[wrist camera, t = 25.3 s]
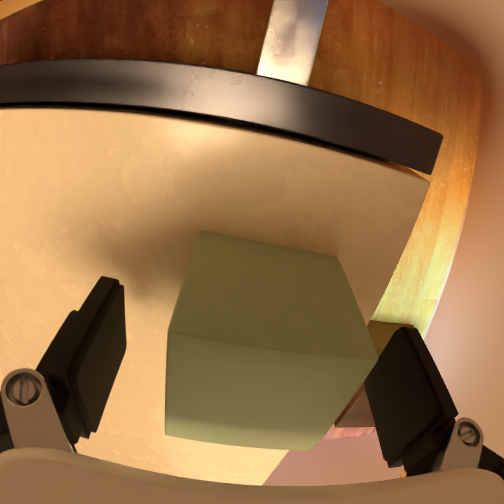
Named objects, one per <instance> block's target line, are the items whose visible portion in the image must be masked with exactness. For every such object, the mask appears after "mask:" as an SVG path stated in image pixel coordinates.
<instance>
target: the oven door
mask: <svg viewBox="0 0 504 504" xmlns="http://www.w3.org/2000/svg"><path fill="white" fill-rule="evenodd" d="M0 1H1V0H0ZM328 4H329V0H273V1H272V5H271V9H270V13H269V17H268V21H267V25H266V30H265V34H264V38H263V42H262V46H261V50H260V54H259V59H258V63H257V67H256V72H255V74H253V73H248V72H243V71H237V70H231V69H225V68H219V67H212V66H205V65H198V64H190V63H181V62H171V61H160V60H146V59H125V58H72V59H53V60H39V61H29V62H20V63H12V64H4V65H0V103H22V102H68V103H93V104H110V105H123V106H134V107H144V108H154V109H162V110H170V111H178V112H185V113H192V114H199V115H205V116H211V117H217V118H223V119H228V120H234V121H239V122H244V123H249V124H254V125H259V126H264V127H269V128H273V129H278V130H282V131H286V132H290V133H295V134H299V135H303V136H307V137H311V138H314V139H318V140H322V141H326V142H329V143H333V144H337V145H340V146H344V147H347V148H350V149H354V150H357V151H360V152H364V153H367V154H370V155H373V156H376V157H379V158H382V159H386V160H389V161H391V162H394V163H397V164H400V165H403V166H406V167H409V168H412V169H414V170H417V171H420V172H422V173H425V174H428V175H431V173H432V170H433V168H434V165H435V161H436V158H437V155H438V152H439V149H440V146H441V143H442V139H443V135H442V134H440V133H438V132H436V131H433V130H431V129H429V128H427V127H424V126H422V125H420V124H417V123H415V122H413V121H410V120H408V119H405V118H403V117H400V116H398V115H395V114H392V113H390V112H387V111H385V110H382V109H379V108H376V107H374V106H371V105H368V104H365V103H362V102H359V101H356V100H353V99H350V98H347V97H344V96H340V95H337V94H334V93H330V92H327V91H324V90H320V89H317V88H313V87H309V83H310V78H311V74H312V70H313V66H314V62H315V58H316V54H317V50H318V46H319V42H320V37H321V33H322V29H323V25H324V21H325V16H326V12H327V8H328Z"/></svg>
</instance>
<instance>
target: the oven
mask: <svg viewBox="0 0 504 504" xmlns="http://www.w3.org/2000/svg"><path fill="white" fill-rule="evenodd" d="M429 185H430V182H429V181H427V180H426V179H424V178H423V177H421V176H420V175H418V174H417V173H415V172H414V171H412V170H411V169H409V168H407V167H406V166H403V165H400V164H397V163H394V162H391V161H389V160H386V159H382V158H379V157H376V156H373V155H370V154H367V153H364V152H360V151H357V150H354V149H350V148H347V147H344V146H340V145H337V144H333V143H329V142H326V141H322V140H318V139H314V138H311V137H307V136H303V135H299V134H295V133H290V132H286V131H282V130H278V129H273V128H269V127H264V126H259V125H254V124H249V123H244V122H239V121H234V120H228V119H223V118H217V117H211V116H205V115H199V114H192V113H185V112H178V111H170V110H162V109H154V108H144V107H134V106H123V105H110V104H93V103H68V102H22V103H0V391H1V384H2V381H3V379H4V378H5V377H6V375H7V374H9V373H10V372H11V371H13V370H16V369H18V368H30V369H33V370H35V369H36V367H37V366H38V364H39V362H40V360H41V359H42V357H43V355H44V354H45V352H46V350H47V348H48V347H49V345H50V343H51V342H52V340H53V338H54V337H55V335H56V334H57V332H58V330H59V329H60V327H61V325H62V324H63V322H64V321H65V319H66V318H67V316H68V314H69V313H70V312H71V311H72V310H76V311H79V309H80V308H81V306H82V304H83V303H84V301H85V300H86V298H87V297H88V295H89V293H90V292H91V290H92V289H93V287H94V286H95V284H96V283H97V281H98V280H99V278H100V277H101V276H106V277H110V278H114V279H118V280H119V283H120V284H121V285H124V296H125V322H126V339H127V347H126V352H125V355H124V358H123V360H122V363H121V365H120V368H119V371H118V373H117V376H116V379H115V381H114V384H113V387H112V390H111V392H110V395H109V398H108V401H107V404H106V406H105V409H104V412H103V415H102V418H101V421H100V424H99V427H98V430H97V432H96V433H93V432H91V434H90V437H89V440H88V439H85V438H82V437H80V438H79V441H78V443H77V444H75V447H76V449H77V451H78V453H79V454H83V455H87V456H90V457H94V458H98V459H102V460H106V461H110V462H114V463H118V464H122V465H126V466H130V467H134V468H138V469H143V470H148V471H153V472H158V473H163V474H168V475H173V476H179V477H185V478H191V479H198V480H205V481H213V482H222V483H232V484H244V485H259V486H262V485H263V483H264V482H265V481H266V480H267V478H268V477H269V476H270V474H271V473H272V472H273V470H274V469H275V468H276V467H277V466H278V464H279V463H280V461H281V460H282V459H283V458H284V456H285V455H286V454H287V452H288V451H289V450H278V449H262V448H250V447H240V446H231V445H222V444H215V443H208V442H201V441H195V440H189V439H183V438H178V437H172V436H167V435H165V377H166V352H167V333H168V328H169V324H170V321H171V318H172V314H173V311H174V308H175V304H176V301H177V298H178V295H179V292H180V289H181V285H182V282H183V279H184V276H185V273H186V270H187V267H188V264H189V261H190V258H191V255H192V252H193V249H194V246H195V243H196V240H197V237H198V234H199V232H200V231H204V232H209V233H215V234H220V235H225V236H230V237H236V238H241V239H246V240H252V241H257V242H262V243H267V244H273V245H278V246H283V247H288V248H293V249H298V250H304V251H309V252H314V253H319V254H324V255H329V256H334V257H337V258H338V259H339V261H340V264H341V266H342V268H343V271H344V273H345V275H346V278H347V280H348V282H349V285H350V287H351V289H352V292H353V294H354V297H355V299H356V301H357V304H358V306H359V309H360V311H361V314H362V316H363V319H364V321H365V324H366V326H367V325H368V323H369V321H370V319H371V317H372V316H373V314H374V312H375V310H376V308H377V306H378V304H379V302H380V300H381V298H382V296H383V294H384V292H385V290H386V288H387V286H388V283H389V281H390V279H391V277H392V275H393V273H394V271H395V269H396V266H397V264H398V262H399V260H400V258H401V255H402V253H403V251H404V248H405V246H406V244H407V241H408V239H409V237H410V234H411V232H412V230H413V227H414V225H415V222H416V220H417V217H418V215H419V212H420V210H421V207H422V204H423V202H424V199H425V196H426V194H427V191H428V188H429Z"/></svg>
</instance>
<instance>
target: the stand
mask: <svg viewBox="0 0 504 504" xmlns="http://www.w3.org/2000/svg"><path fill="white" fill-rule="evenodd" d="M402 326H405V327H414V326H413V325H404V324H395V323H386V322H378V321H369V323H368V325H367V329H368V331H369V334H370V336H371V339H372V342H373V344H374V347H375V350H376V352H377V355H378V358H379V356H380V355H381V353H382V351H383V350H384V348H385V347H386V345H387V343H388V342H389V340H390V338H391V337H392V335H393V333H394V332H395V331H396V330H398V329H399V328H400V327H402ZM364 381H365V380H364ZM334 424H335V427H375V423H374V419H373V416H372V412H371V408H370V405H369V401H368V398H367V394H366V391H365V387H364V382H363V383H362V385H361V386H360V388H359V389H358V391H357V392H356V393H355V395H354V396H353V398H352V399H351V400H350V402H349V403H348V405H347V406H346V407H345V409H344V410H343V411H342V413H341V414H340V415H339V417H338V418H337V419H336V421H335V422H334Z"/></svg>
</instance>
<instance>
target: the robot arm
mask: <svg viewBox="0 0 504 504" xmlns="http://www.w3.org/2000/svg"><path fill="white" fill-rule="evenodd" d="M126 347H127V339H126V322H125V296H124V285H121V284H120V283H119V280H118V279H114V278H110V277H106V276H101V277H100V278H99V280H98V281H97V283H96V284H95V286H94V287H93V289H92V290H91V292H90V293H89V295H88V297H87V298H86V300H85V301H84V303H83V304H82V306H81V308H80V309H79V311H76V310H72V311H71V312H70V313H69V314H68V316H67V318H66V319H65V321H64V322H63V324H62V325H61V327H60V329H59V330H58V332H57V334H56V335H55V337H54V338H53V340H52V342H51V343H50V345H49V347H48V348H47V350H46V352H45V354H44V355H43V357H42V359H41V360H40V362H39V364H38V366H37V367H36V369H35V370H33V369H30V368H18V369H16V370H13V371H11V372H10V373H9V374H7V375H6V377H5V378H4V379H3V381H2V384H1V391H0V504H504V459H503V458H502V457H501V456H499V455H498V454H496V453H495V452H493V451H492V450H490V449H488V448H487V447H485V446H484V445H483V433H482V430H481V428H480V427H479V426H478V424H477V423H476V422H474V421H473V420H471V419H469V418H461V419H458V420H457V421H455V417H456V416H457V415H458V411H457V409H456V407H455V405H454V403H453V400H452V398H451V396H450V394H449V392H448V389H447V387H446V385H445V383H444V381H443V379H442V377H441V375H440V373H439V371H438V369H437V366H436V364H435V362H434V360H433V358H432V356H431V354H430V352H429V351H428V349H427V347H426V345H425V343H424V341H423V339H422V337H421V335H420V333H419V331H418V330H417V328H414V327H405V326H402V327H400V328H399V329H398V330H396V331H395V332H394V333H393V335H392V337H391V338H390V340H389V342H388V343H387V345H386V347H385V348H384V350H383V351H382V353H381V355H380V356H379V358H378V361H377V362H376V364H375V365H374V367H373V368H372V370H371V372H370V373H369V375H368V376H367V377H366V379H365V381H364V387H365V391H366V394H367V398H368V401H369V405H370V408H371V412H372V416H373V419H374V423H375V427H376V431H377V434H378V438H379V442H380V446H381V450H382V454H383V458H384V459H385V461H387V463H388V467H389V468H393V467H400V466H402V465H404V471H403V473H402V475H401V477H400V478H398V479H392V480H385V481H377V482H369V483H358V484H347V485H331V486H300V487H299V486H298V487H297V486H295V487H294V486H287V487H286V486H259V485H244V484H232V483H222V482H213V481H205V480H198V479H191V478H185V477H179V476H173V475H168V474H163V473H158V472H153V471H148V470H143V469H138V468H134V467H130V466H126V465H122V464H118V463H114V462H110V461H106V460H102V459H98V458H94V457H90V456H87V455H83V454H79V453H78V451H77V449H76V447H75V444H77V443H78V441H79V438H80V437H82V438H85V439H88V440H89V437H90V434H91V432H93V433H96V432H97V430H98V427H99V424H100V421H101V418H102V415H103V412H104V409H105V406H106V404H107V401H108V398H109V395H110V392H111V390H112V387H113V384H114V381H115V379H116V376H117V373H118V371H119V368H120V365H121V363H122V360H123V358H124V355H125V352H126Z"/></svg>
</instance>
